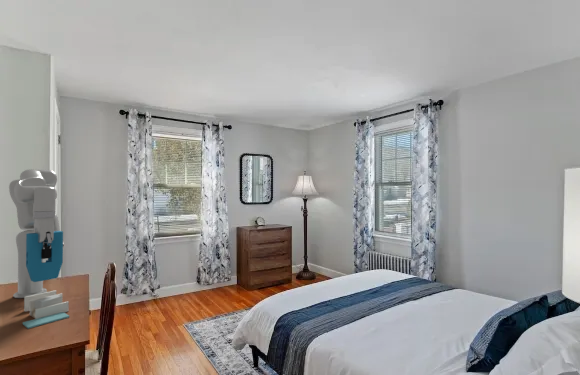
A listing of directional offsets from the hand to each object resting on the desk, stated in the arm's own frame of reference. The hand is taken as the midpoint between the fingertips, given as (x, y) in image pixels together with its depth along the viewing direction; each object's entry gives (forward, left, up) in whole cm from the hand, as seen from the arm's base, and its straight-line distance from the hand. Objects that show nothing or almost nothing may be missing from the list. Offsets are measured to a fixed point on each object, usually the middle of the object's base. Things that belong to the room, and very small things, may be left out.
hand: (43, 257), depth 134 cm
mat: (+16, -3, -22) cm, 28 cm away
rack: (+4, 0, -22) cm, 23 cm away
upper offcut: (+8, 0, -19) cm, 21 cm away
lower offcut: (+8, 0, -23) cm, 24 cm away
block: (0, 0, -10) cm, 10 cm away
